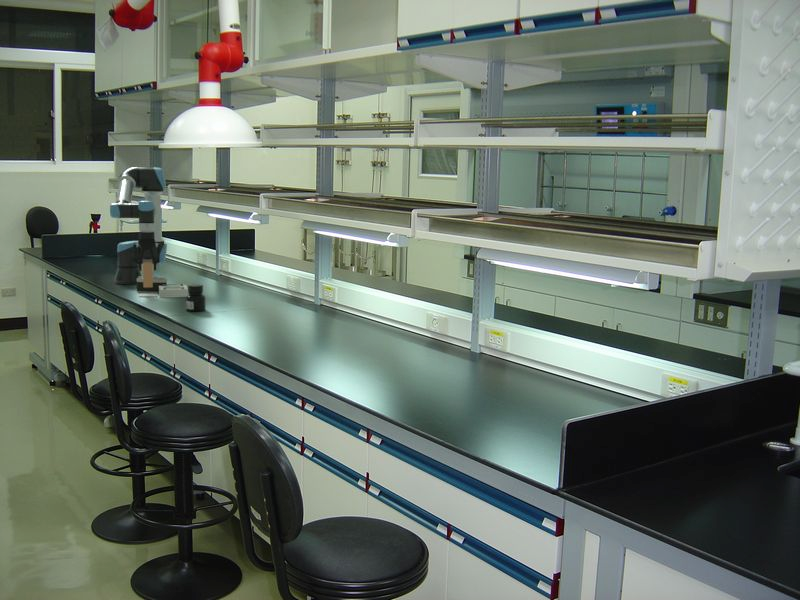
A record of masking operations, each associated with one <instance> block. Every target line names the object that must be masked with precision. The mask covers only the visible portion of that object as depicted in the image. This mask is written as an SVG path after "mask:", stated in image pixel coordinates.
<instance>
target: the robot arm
mask: <svg viewBox="0 0 800 600" xmlns="http://www.w3.org/2000/svg"><path fill="white" fill-rule="evenodd" d="M116 182H117V183H116V184H117V194H116V197H115V198H116V199H115V203H114V202H113V203H111V204H109V205H110V206H109V215H110V217H111V218H113V219H138V231H139V232H138V235H139V236H138V240H129V241H128V240H127V241H123V242H119V243H118V244H117V248H116V250H117V251H116V252H117V270H116V273H115V277H114V283H115V284H118V285H137V283H136V282H137V278H139V276H141V277H142V278H143V259H152V277H154V276H155V272H154V271H156V270H157V265H163V264H165V262H166V258H167V257H166V256H167V250H168V244H167V243H166V242H165V240H164V238H163V237H162V206H161V205H162V199H161V198H162V197H161V195H162V194H163V193H164V190H165V189H166V188H167V184H166V178H165V172H164V169H163V168H162V167H149V166H147V167H145V166H144V167H143V166H142V167H141V166H140V167H139V166H132V167H129V168H127V169H125V170H124V171H122V172H121V174H119V176H118V178H117V181H116ZM134 189H141V193H142V194H144V200H139V201H138V203H132V197H133V192H134Z"/></svg>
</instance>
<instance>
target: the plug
mask: <svg viewBox="0 0 800 600" xmlns="http://www.w3.org/2000/svg"><path fill="white" fill-rule="evenodd" d="M143 287H153V277H152V259H143Z"/></svg>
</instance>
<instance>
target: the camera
mask: <svg viewBox="0 0 800 600" xmlns="http://www.w3.org/2000/svg"><path fill="white" fill-rule="evenodd" d="M167 281H168V279H167V278H166V277H165V276H161V277H160V276H156V275H154V277H153V287H143V278H142V277H141V276H139V278H137V282H136V283H137V284H136V292H137V293H145V292H146V293H157V294H159V286H163V284H165V285H167Z"/></svg>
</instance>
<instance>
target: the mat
mask: <svg viewBox="0 0 800 600" xmlns="http://www.w3.org/2000/svg"><path fill="white" fill-rule="evenodd" d="M158 295H159V294H158V293H145V292H141V293H138V298H154V297H155V298H158Z"/></svg>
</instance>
